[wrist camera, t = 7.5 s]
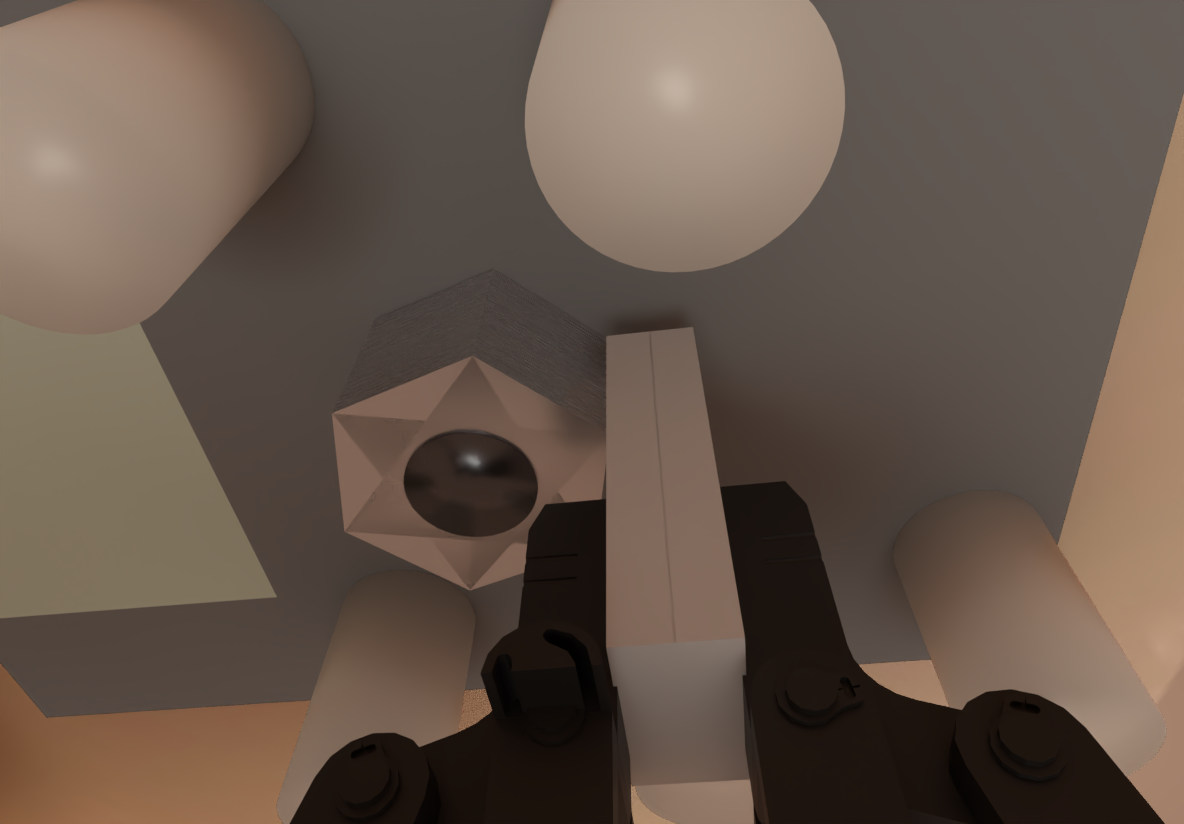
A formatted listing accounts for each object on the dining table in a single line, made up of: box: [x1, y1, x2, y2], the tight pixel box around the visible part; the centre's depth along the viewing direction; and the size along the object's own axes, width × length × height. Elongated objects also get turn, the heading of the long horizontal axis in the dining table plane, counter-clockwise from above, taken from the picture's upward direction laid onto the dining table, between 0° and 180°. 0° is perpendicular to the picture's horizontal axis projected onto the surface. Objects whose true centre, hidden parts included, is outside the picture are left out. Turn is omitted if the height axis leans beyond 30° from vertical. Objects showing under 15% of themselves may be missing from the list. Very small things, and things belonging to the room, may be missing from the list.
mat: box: [0, 0, 1184, 718], centre depth 17 cm, size 26×18×1 cm
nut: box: [332, 268, 606, 590], centre depth 15 cm, size 5×4×3 cm
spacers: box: [0, 0, 1167, 824], centre depth 14 cm, size 16×16×5 cm
